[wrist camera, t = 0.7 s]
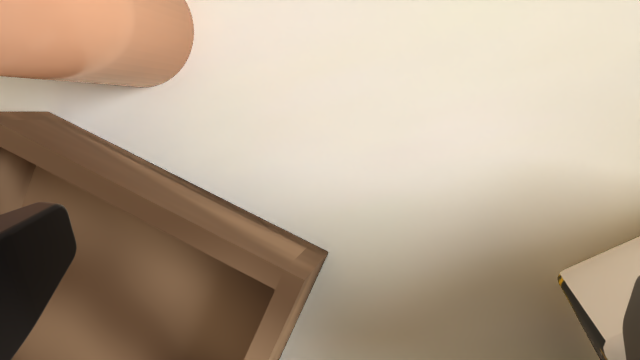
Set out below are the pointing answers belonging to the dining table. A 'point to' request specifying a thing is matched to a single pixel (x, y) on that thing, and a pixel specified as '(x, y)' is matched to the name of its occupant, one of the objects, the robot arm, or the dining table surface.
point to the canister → (95, 40)
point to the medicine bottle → (603, 295)
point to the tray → (150, 255)
